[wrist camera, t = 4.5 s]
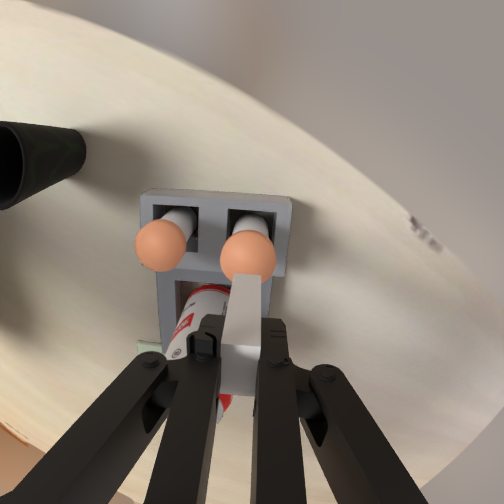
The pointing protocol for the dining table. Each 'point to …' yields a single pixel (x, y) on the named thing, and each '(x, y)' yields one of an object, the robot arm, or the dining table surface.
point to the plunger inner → (165, 239)
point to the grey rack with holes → (210, 244)
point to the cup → (36, 159)
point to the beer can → (196, 308)
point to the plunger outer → (249, 249)
